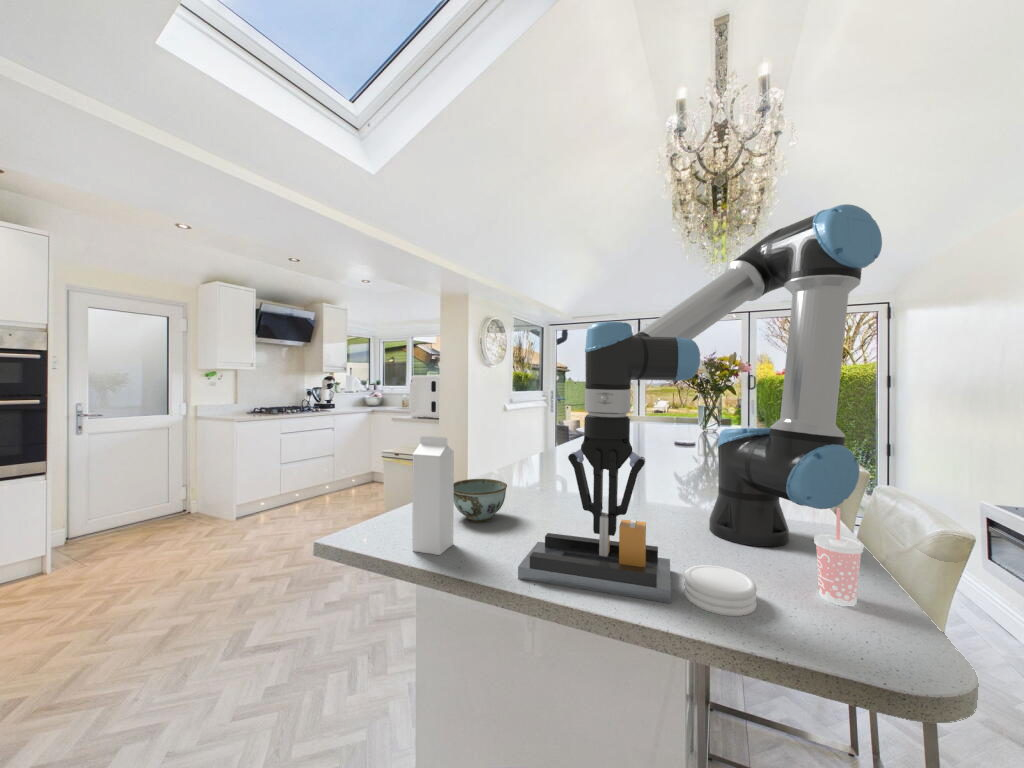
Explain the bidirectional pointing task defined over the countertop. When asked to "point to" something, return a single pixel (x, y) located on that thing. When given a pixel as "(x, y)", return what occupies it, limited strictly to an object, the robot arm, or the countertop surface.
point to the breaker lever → (632, 543)
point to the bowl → (479, 498)
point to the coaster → (720, 590)
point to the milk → (433, 496)
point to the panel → (600, 583)
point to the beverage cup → (838, 566)
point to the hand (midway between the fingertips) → (604, 552)
